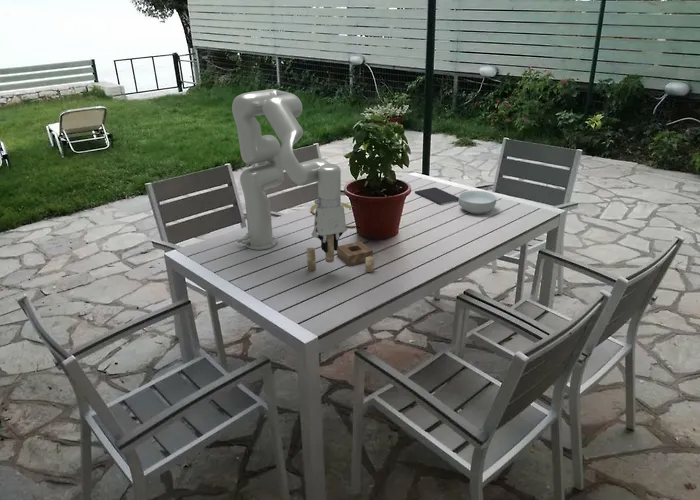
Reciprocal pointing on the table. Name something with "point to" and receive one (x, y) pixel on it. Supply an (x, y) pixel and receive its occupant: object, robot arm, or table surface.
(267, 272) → the table surface
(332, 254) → the long pin
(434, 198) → the notebook
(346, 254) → the hole block
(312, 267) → the medium pin
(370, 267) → the short pin
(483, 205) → the cereal bowl
